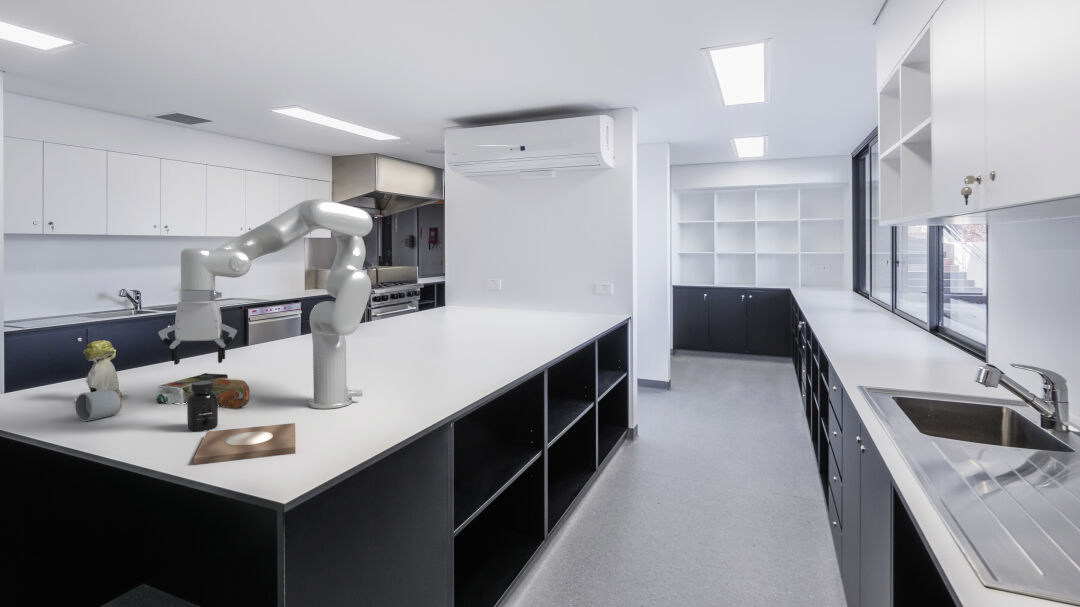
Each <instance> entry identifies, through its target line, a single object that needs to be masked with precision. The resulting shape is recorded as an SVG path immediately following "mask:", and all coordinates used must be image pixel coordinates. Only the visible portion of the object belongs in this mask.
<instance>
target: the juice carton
mask: <svg viewBox="0 0 1080 607" xmlns="http://www.w3.org/2000/svg"><path fill="white" fill-rule="evenodd" d="M216 378H228V379H229V375H228V374H225V373H224V374H223V373H207V372H205V373H201V374H198V375H195V376H190V377H186V378H182V379H179V380H176V381H175V380H174V381H170V382H167V383H164V384H160V385H157V386H156V395H157V396H156V399H155V400H156V403H157V402H162V403H165V404H168V403H180V404H183V403H186V402H187V397H188V396H189V395H190V394H191V393H193V391H191V389H192V383H195V382H202V381H210V382H211V381H212V380H213V379H216ZM166 402H167V403H166ZM180 404H179V405H180ZM186 404H187V403H186ZM183 405H184V404H183Z"/></svg>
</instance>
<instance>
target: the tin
mask: <svg viewBox="0 0 1080 607" xmlns="http://www.w3.org/2000/svg"><path fill="white" fill-rule="evenodd" d="M211 382H213V390H212V391H213V392H215V393H216V394H217V396H218V405H219V406H218V407H220V406H224V407H223V408H227V407H229V408H228V409H234V408H235V409H238V408H242V407H245V406H246V405H248V403H249V401H250V395H251V393H250V391H251V390H250V387H249V385H248V383H247V382H246V381H245V380H243V379H235V378H229V377H228V378H216V379H213V380H212V381H211Z"/></svg>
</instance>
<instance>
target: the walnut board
mask: <svg viewBox="0 0 1080 607" xmlns="http://www.w3.org/2000/svg"><path fill="white" fill-rule="evenodd" d="M292 454H296V423H295V422H293V423H292V422H291V423H282V424H281V423H280V424H270V425H262V426H252V427H251V426H250V427H240V428H229V429H228V428H227V429H221V430H220V429H218V430H207V431H206V433H205V435H204V437H203V439H202V441H201V442H200V445H199V447H198V449H197V451H196V453H195V455H194V457H193V465H194V466H196V465H204V464H206V465H207V464H214V463H222V462H223V463H224V462H231V461H232V462H233V461H239V460H240V461H241V460H248V459H257V458H264V457H274V456H282V455H292Z"/></svg>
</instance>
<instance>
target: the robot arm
mask: <svg viewBox="0 0 1080 607" xmlns="http://www.w3.org/2000/svg"><path fill="white" fill-rule="evenodd" d="M372 228H373V219H372V216H371V215H370V214H369V212H367V211H366V210H364V209H362V208H359V207H356V206H351V205H349V204H348V205H347V204H344V203H340V202H336V201H333V200H329V199H325V198H315V199H308V200H304V201H301V202H299V203H298V204H295V205H294V206H292V207H290V208H288V209H287V210H285V211H283V212H282V213H280V214H279V215H277V216H275V217H273V218H271V219H270V220H268V221H266V222H264V223H262V224H260V225H258V226H256V227H254V228H253V229H250V230H249V231H247V232H245V233H242V234H241V235H239V236H237V237H235V238H233V239H231V240H230V241H227V242H226V243H225V244H222V245H221V246H220V247H218V248H216V249H213V250H212V249H208V248H191V247H190V248H184V249H183V250H181V252H180V301H178V302H177V306H176V312H175V320H174V324H173V325H170V326H168V327H166V328H163V329H161V330H159V331H158V336H159V337H160V339H161V340H162V342H163V343H164V344H165V345H166V346H168V347H169V349H170V350H171V352H170V353H171V361H172V362H173V363H174V366H175V365H178V364H180V363H181V361H180V360H181V359H180V358H181V357H180V356H181V354H180V353H181V351H180V347H179V345H180V344H181V343H182V342H207V341H209V342H213V341H214V342H215V343H216V344H217V345H218V348H217V362H218V363H219V364H221V363H223V360H225V359H226V347H227V345H229V344H230V343H231V342H232V341H233V340H234V338H235V336H236V335H237V333H238V330H237V329H235V328H234V327H231V326H229V325H226V324H224V323H222V321H223V320H222V311H221V305H220V302H219V301H216V300H217V299H220V298H222V296H223V293H222V292H219V291H217V290H216V277H217V276H218V277H225V278H231V279H233V278H240V277H243V276H245V275H247V273H248V272H250V270H251V267H252V261H253V260H256V259H258V258H260V257H262V256H265V255H270V254H272V253H273V254H274V253H277V252H279V251H282V250H284V249H285V250H286V248H289V247H290V246H291V245H292V244H293V245H294V243H296V242H298V241H299V240H301V239H302V238H304V237H305V236H307V235H309V234H311V233H312V232H313V231H316V230H320V229H321V230H322V229H323V230H326V231H327V230H328V231H330V232H331V234H332V235H333V237H334V239H335V242H336V247H337V248H336V254H335V258H334V260H333V262H332V265H331V268H330V271H329V273H328V276H327V278H326V282H325V290H326V292H327V293H328V295H330V296H331V297H333V298H335V301H332V300H328V301H327V300H325V301H320V302H319V303H316V304H315V305H314V307H312V309H311V311H310V313H309V327H310V332H311V338H312V368H313V369H312V370H313V371H312V374H313V375H312V376H313V378H312V379H313V380H312V381H313V382H312V383H313V398H311V399H309V400H308V404H307V405H308V407H310V408H313V409H319V410H321V409H324V410H326V409H327V410H329V409H337V408H342V407H347V406H348V405H350V404H352V403H353V399H352V397H357V398H358V397H363V390H362V389H349V388H348V386H347V383H348V382H347V343H346V337H345V336H349V335H352V334H353V333H354V332H355V331H356V330H357V328H358V327H359V325H360V324H361V322H362V318H363V316H364V314H365V311H366V310H365V309H366V308H367V305H368V303H369V302H368V301H369V299H370V295H371V292H372V281H371V278H370V276H369V275H368V273H366V272H365V271H364V270H363V266H364V262H365V259H366V255H367V254H366V253H367V252H366V251H367V250H366V246H365V242H364V239H363V237H366V236H367V235H368V234H370V233H371V232H372V230H373V229H372ZM173 331H174V338H175V340H174V341H173V340H172V338H170V337H168V333H170V332H173ZM223 331H225V332H227V333H229V334H228V336H227V338H225V340H224V339H223V337H222V335H223Z"/></svg>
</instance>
